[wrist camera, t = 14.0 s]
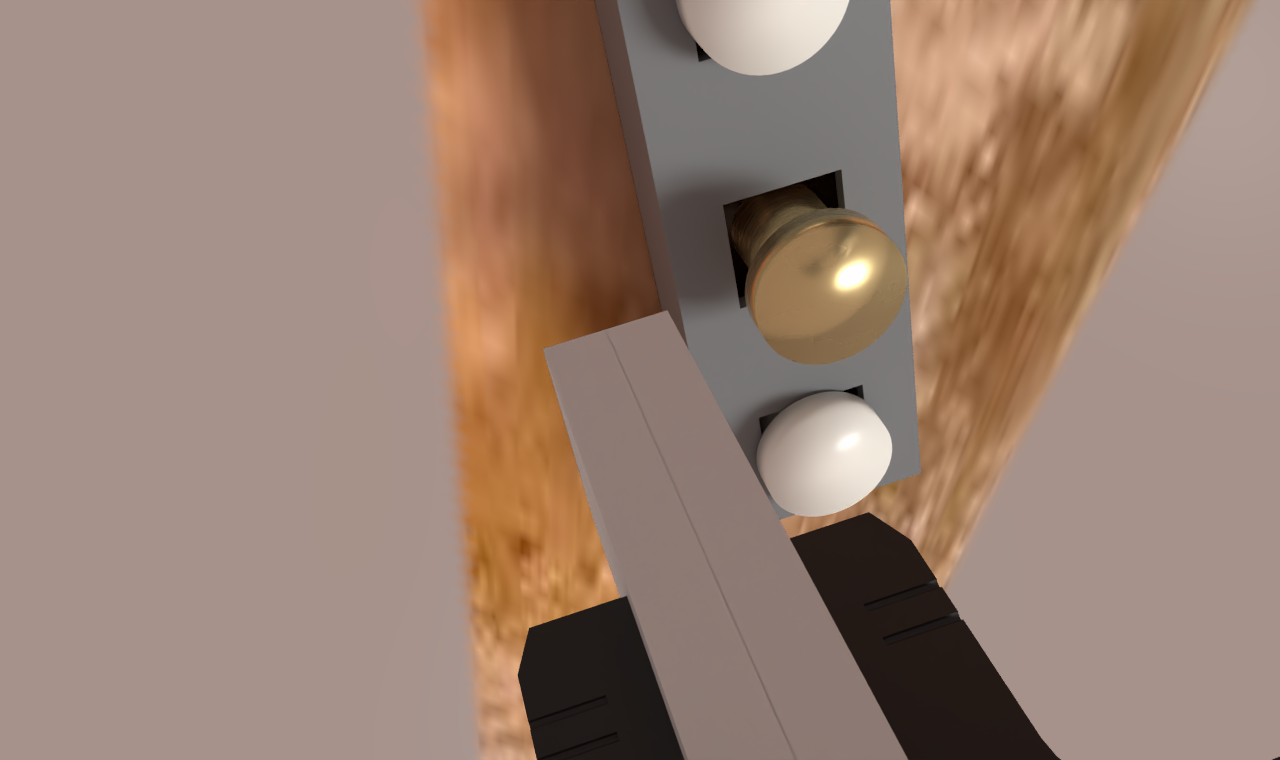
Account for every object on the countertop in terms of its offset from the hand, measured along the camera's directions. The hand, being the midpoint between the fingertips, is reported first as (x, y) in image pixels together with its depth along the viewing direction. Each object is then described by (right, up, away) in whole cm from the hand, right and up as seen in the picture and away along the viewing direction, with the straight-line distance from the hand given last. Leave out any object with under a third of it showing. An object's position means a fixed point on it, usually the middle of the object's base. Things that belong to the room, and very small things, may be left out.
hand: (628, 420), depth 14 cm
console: (+5, +9, +39) cm, 40 cm away
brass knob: (+6, +7, +36) cm, 37 cm away
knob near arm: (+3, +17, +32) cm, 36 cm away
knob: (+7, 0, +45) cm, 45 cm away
